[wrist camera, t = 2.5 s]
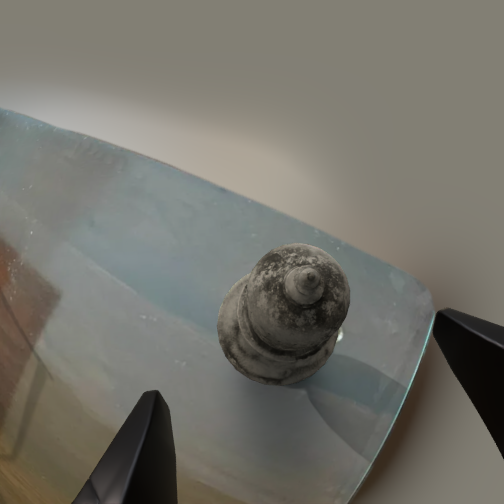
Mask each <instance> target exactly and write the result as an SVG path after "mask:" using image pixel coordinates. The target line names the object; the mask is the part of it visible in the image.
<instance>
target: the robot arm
mask: <svg viewBox="0 0 504 504" xmlns="http://www.w3.org/2000/svg"><path fill="white" fill-rule="evenodd" d="M433 336H434V338H435V340H436V341H437V343H438V345H439V347H440V349H441V351H442V353H443V354H444V356H445V358H446V360H447V362H448V364H449V366H450V368H451V369H452V371H453V373H454V374H455V376H456V377H457V379H458V380H459V382H460V384H461V385H462V387H463V388H464V390H465V392H466V393H467V395H468V396H469V398H470V399H471V401H472V403H473V404H474V406H475V408H476V410H477V411H478V413H479V415H480V416H481V418H482V420H483V422H484V423H485V425H486V427H487V429H488V430H489V432H490V434H491V436H492V438H493V440H494V441H495V443H496V445H497V447H498V449H499V451H500V453H501V454H502V457H503V459H504V327H503V326H500V325H497V324H494V323H491V322H488V321H486V320H483V319H480V318H477V317H474V316H471V315H468V314H465V313H462V312H459V311H457V310H454V309H451V308H444V309H442V310H439V311H438V312H437V313H436V317H435V321H434V326H433ZM89 478H90V479H88V480H87V481H86V483H85V485H84V486H83V488H82V489H81V491H80V492H79V494H78V495H77V497H76V498H75V500H74V501H73V502H72V504H178V501H177V479H176V454H175V447H174V440H173V432H172V424H171V416H170V410H169V407H168V405H167V403H166V402H165V400H164V398H163V397H162V395H161V394H160V392H159V391H158V390H152V391H146V392H144V393H143V395H142V396H141V398H140V399H139V401H138V402H137V404H136V405H135V407H134V408H133V410H132V412H131V413H130V415H129V416H128V418H127V419H126V421H125V422H124V424H123V425H122V427H121V428H120V430H119V432H118V433H117V435H116V436H115V438H114V439H113V441H112V442H111V444H110V446H109V447H108V449H107V450H106V452H105V453H104V455H103V456H102V458H101V460H100V461H99V463H98V464H97V466H96V467H95V469H94V471H93V472H92V474H91V475H90V477H89Z"/></svg>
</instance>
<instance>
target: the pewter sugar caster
mask: <svg viewBox="0 0 504 504" xmlns="http://www.w3.org/2000/svg"><path fill="white" fill-rule="evenodd" d="M349 304H350V288H349V285H348V281H347V277H346V275H345V273H344V272H343V270H342V268H341V266H340V265H339V264H338V263H337V262H336V261H335V259H334V258H333V257H332V256H331V255H329V254H328V253H326V252H325V251H323V250H322V249H320V248H317V247H314V246H311V245H309V244H299V243H293V244H287V245H282V246H280V247H277V248H275V249H273V250H271V251H270V252H269V253H267V254H266V255H265V256H263V257H262V258H261V259H260V260H259V262H258V263H257V264H256V266H255V267H254V269H253V270H252V272H251V273H250V274H248V275H246V276H244V277H243V278H242V279H241V280H239V281H238V282H237V283H236V284H234V286H233V287H232V288H231V289H230V291H229V292H228V293H227V295H226V296H225V298H224V300H223V303H222V305H221V308H220V310H219V316H218V324H217V329H218V336H219V343H220V345H221V347H222V349H223V352H224V354H225V356H226V358H227V359H228V360H229V361H230V363H231V364H232V365H233V366H234V367H235V369H236V370H238V371H239V372H240V373H242V374H243V375H245V376H246V377H248V378H249V379H251V380H254V381H257V382H260V383H263V384H266V385H280V386H282V385H287V384H292V383H297V382H300V381H302V380H304V379H306V378H308V377H310V376H312V375H313V374H314V373H315V372H316V371H318V370H319V369H320V368H321V367H322V366H323V365H324V364H325V363H326V361H327V360H328V358H329V357H330V355H331V353H332V352H333V349H334V346H335V343H336V340H337V337H338V330H339V328H340V326H341V325H342V323H343V321H344V320H345V318H346V315H347V312H348V308H349Z"/></svg>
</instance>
